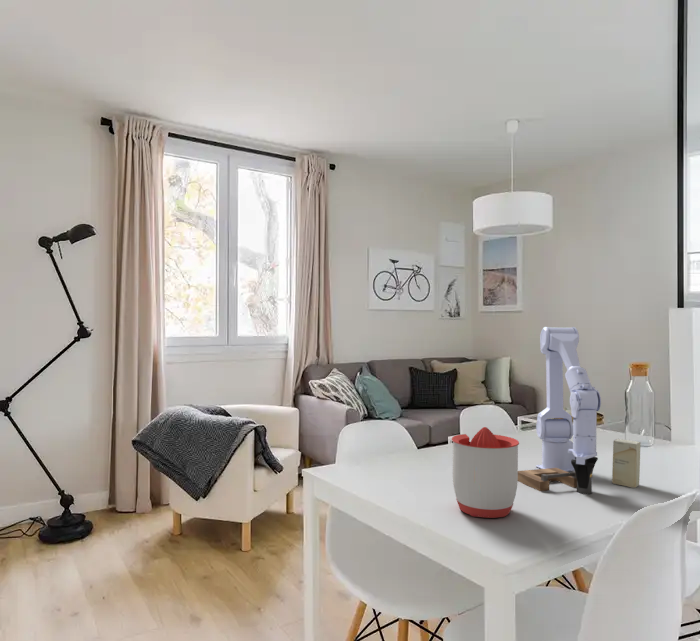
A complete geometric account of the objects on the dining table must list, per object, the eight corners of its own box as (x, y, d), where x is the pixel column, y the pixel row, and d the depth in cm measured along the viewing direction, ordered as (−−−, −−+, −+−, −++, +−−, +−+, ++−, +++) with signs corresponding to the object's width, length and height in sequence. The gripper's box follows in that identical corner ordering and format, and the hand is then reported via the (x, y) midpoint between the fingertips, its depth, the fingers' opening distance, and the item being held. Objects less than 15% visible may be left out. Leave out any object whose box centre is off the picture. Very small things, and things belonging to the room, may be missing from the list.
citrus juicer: (504, 498, 141) (504, 420, 141) (528, 522, 123) (529, 433, 124) (443, 498, 140) (444, 419, 140) (459, 522, 123) (460, 433, 123)
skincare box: (611, 483, 154) (611, 440, 155) (616, 480, 158) (616, 438, 158) (636, 488, 150) (636, 443, 150) (640, 485, 154) (640, 441, 154)
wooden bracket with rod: (556, 476, 162) (556, 462, 162) (582, 486, 151) (582, 472, 151) (515, 479, 157) (515, 466, 157) (539, 491, 147) (540, 476, 147)
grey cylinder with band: (585, 489, 149) (585, 467, 149) (595, 493, 145) (595, 470, 145) (573, 490, 148) (573, 468, 148) (583, 494, 144) (583, 471, 144)
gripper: (573, 428, 155) (573, 477, 155) (563, 437, 143) (563, 490, 142) (600, 431, 151) (600, 481, 151) (593, 441, 139) (593, 494, 139)
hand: (584, 485), depth 147 cm, fingers closed on grey cylinder with band, 4 cm apart
